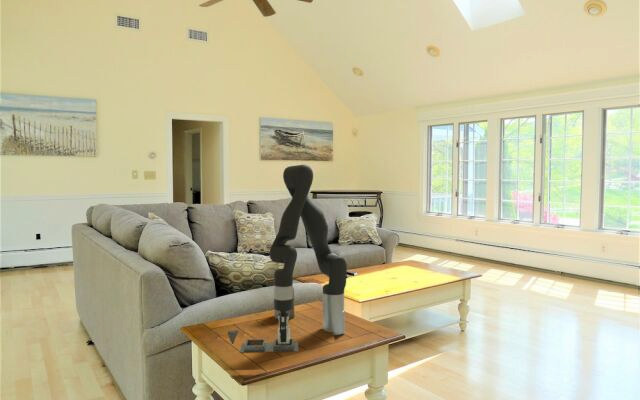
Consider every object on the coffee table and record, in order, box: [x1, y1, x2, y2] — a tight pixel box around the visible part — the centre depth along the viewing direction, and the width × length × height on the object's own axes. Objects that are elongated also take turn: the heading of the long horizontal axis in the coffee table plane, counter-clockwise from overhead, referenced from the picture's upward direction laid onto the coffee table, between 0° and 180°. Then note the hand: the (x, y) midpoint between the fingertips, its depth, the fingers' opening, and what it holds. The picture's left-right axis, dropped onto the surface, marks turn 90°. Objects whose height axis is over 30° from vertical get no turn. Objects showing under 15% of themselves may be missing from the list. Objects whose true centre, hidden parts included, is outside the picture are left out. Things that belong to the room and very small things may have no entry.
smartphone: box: [227, 330, 239, 344], centre depth 195 cm, size 7×1×15 cm
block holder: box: [239, 338, 299, 353], centre depth 179 cm, size 22×9×3 cm, turn 92°
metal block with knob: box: [277, 326, 291, 345], centre depth 179 cm, size 4×4×8 cm
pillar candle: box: [273, 287, 295, 320], centre depth 221 cm, size 10×10×15 cm
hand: (283, 338), depth 179 cm, fingers open, 8 cm apart
